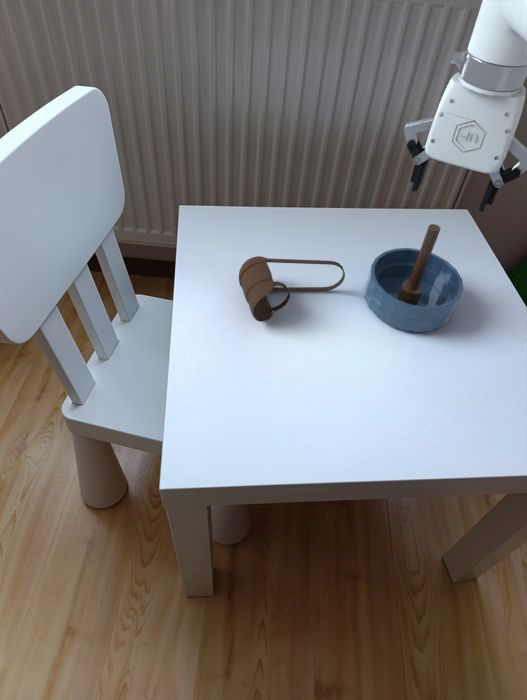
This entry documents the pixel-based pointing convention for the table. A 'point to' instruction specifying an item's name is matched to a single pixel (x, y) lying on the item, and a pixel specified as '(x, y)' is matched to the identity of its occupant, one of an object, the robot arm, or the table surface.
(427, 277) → the bowl
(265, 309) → the brown barrel bag
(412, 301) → the stirring stick
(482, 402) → the table surface
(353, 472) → the table surface
